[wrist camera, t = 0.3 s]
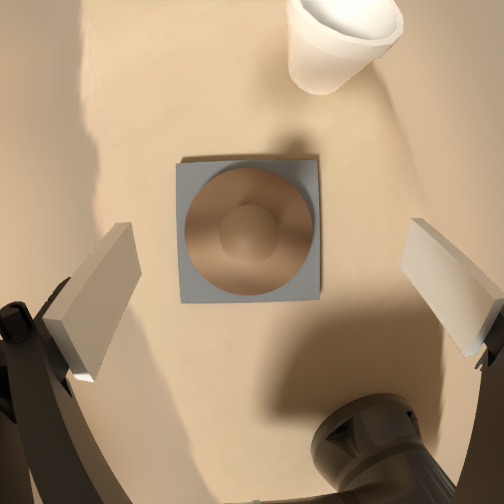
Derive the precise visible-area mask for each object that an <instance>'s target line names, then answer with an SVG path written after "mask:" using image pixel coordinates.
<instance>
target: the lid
mask: <svg viewBox="0 0 504 504" xmlns="http://www.w3.org/2000/svg"><path fill="white" fill-rule="evenodd" d="M312 231H313V230H312V221H311V216H310V212H309V210H308V207H307V205H306V203H305V201H304V199H303V197H302V196H301V194H300V193H299V192H298V191H297V189H296V188H295V187H294V186H293V185H292V184H291V183H289V182H288V181H287V180H286V179H284V178H282V177H281V176H279V175H277V174H275V173H273V172H270V171H267V170H264V169H258V168H238V169H234V170H230V171H227V172H224V173H222V174H220V175H218V176H216V177H214V178H213V179H211V180H210V181H209V182H207V183H206V184H205V185H204V186H203V187H202V188H201V189H200V190H199V192H198V193H197V194H196V196H195V197H194V199H193V200H192V202H191V205H190V207H189V209H188V212H187V215H186V220H185V229H184V236H185V244H186V248H187V251H188V254H189V257H190V259H191V261H192V263H193V265H194V266H195V268H196V269H197V270H198V272H199V273H200V274H201V275H202V276H203V277H204V278H205V279H206V280H207V281H208V282H210V283H211V284H212V285H214V286H216V287H217V288H219V289H221V290H223V291H226V292H229V293H232V294H237V295H247V296H252V295H260V294H264V293H268V292H271V291H273V290H276V289H278V288H279V287H281V286H283V285H284V284H286V283H287V282H289V281H290V280H291V279H292V278H293V277H294V276H295V275H296V274H297V273H298V271H299V270H300V269H301V267H302V266H303V264H304V263H305V261H306V258H307V256H308V254H309V251H310V247H311V242H312Z"/></svg>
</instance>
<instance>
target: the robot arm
mask: <svg viewBox="0 0 504 504" xmlns="http://www.w3.org/2000/svg"><path fill="white" fill-rule="evenodd" d="M399 267H400V269H401V270H402V271H403V272H404V274H405V275H406V276H407V277H408V279H409V280H410V281H411V283H412V284H413V285H414V287H415V288H416V289H417V290H418V292H419V293H420V294H421V296H422V297H423V299H424V300H425V301H426V303H427V304H428V305H429V307H430V308H431V310H432V311H433V312H434V314H435V315H436V317H437V318H438V319H439V321H440V322H441V324H442V325H443V327H444V328H445V330H446V331H447V332H448V334H449V335H450V337H451V338H452V340H453V341H454V343H455V345H456V346H457V348H458V349H459V351H460V352H461V354H462V355H463V357H468V356H471V355H474V354H477V352H478V351H479V349H480V347H481V346H482V344H483V342H484V343H485V344H486V346H487V349H486V350H485V352H484V353H483V355H482V357H481V358H480V360H479V361H478V363H477V364H476V367H475V369H477V368H478V367H479V365H481V364H483V365H482V368H481V369H480V371H482V375H481V384H480V391H479V399H478V404H477V411H476V416H475V421H474V426H473V431H472V435H471V439H470V443H469V447H468V451H467V455H466V458H465V462H464V466H463V469H462V472H461V475H460V478H459V481H458V484H457V486H455V485H454V484H453V482H452V481H451V480H450V479H449V477H448V476H447V475H446V474H445V472H444V471H443V470H442V468H441V467H440V466H439V465H438V463H437V462H436V461H435V460H434V458H433V457H432V456H431V454H430V453H429V452H428V451H427V449H426V448H425V447H424V445H423V441H422V437H421V433H420V428H419V424H418V420H417V417H416V414H415V412H414V411H413V409H412V408H411V407H410V406H409V405H408V403H407V402H406V401H405V400H403V399H402V398H400V397H398V396H395V395H391V394H377V395H371V396H367V397H364V398H361V399H358V400H356V401H353V402H351V403H349V404H347V405H346V406H344V407H342V408H341V409H339V410H338V411H336V412H335V413H334V414H332V415H331V416H330V417H329V418H328V419H327V420H326V421H325V422H324V423H323V424H322V425H321V426H320V428H319V429H318V430H317V432H316V434H315V436H314V438H313V440H312V444H311V454H312V458H313V461H314V465H315V467H316V469H317V470H318V472H319V473H320V474H321V475H322V476H323V477H324V478H325V479H326V480H327V481H328V483H329V484H330V485H331V486H332V487H333V488H334V489H335V490H336V491H337V492H338V493H332V494H327V495H321V496H314V497H307V498H299V499H290V500H279V501H264V502H260V501H259V500H254V501H252V502H248V503H224V504H504V293H503V292H502V291H501V290H500V289H499V288H498V287H497V286H496V285H495V284H494V283H493V282H492V281H491V280H490V279H489V278H488V277H487V276H486V275H485V274H484V273H483V272H482V271H481V270H480V269H479V268H478V267H477V266H476V265H475V264H474V263H473V262H472V261H471V260H469V258H468V257H466V256H465V255H464V254H463V253H462V252H461V251H460V250H459V249H458V248H457V247H455V246H454V245H453V244H452V243H451V242H450V241H449V240H447V239H446V238H445V237H444V236H443V235H442V234H440V233H439V232H438V231H437V230H436V229H435V228H433V227H432V226H431V225H430V224H428V223H427V222H426V221H425V220H424V219H421V218H410V223H409V227H408V232H407V236H406V241H405V245H404V249H403V253H402V257H401V261H400V265H399ZM141 274H142V273H141V269H140V265H139V260H138V255H137V251H136V246H135V241H134V236H133V230H132V225H131V222H126V223H116V224H115V225H114V226H113V227H112V228H111V229H110V231H109V232H108V233H107V234H106V235H105V236H104V238H103V239H102V240H101V241H100V242H99V243H98V245H97V246H96V247H95V248H94V249H93V251H92V252H91V253H90V254H89V256H88V257H87V258H86V259H85V261H84V262H83V263H82V264H81V265H80V267H79V268H78V270H77V271H76V272H75V273H74V274H73V276H72V277H68V278H67V279H65V280H64V281H63V282H62V283H60V284H59V285H58V286H57V288H56V289H55V290H54V292H53V294H51V296H50V297H49V298H48V301H46V302H45V304H44V305H43V306H42V308H41V310H40V311H39V312H38V314H37V315H36V316H35V318H34V319H32V317H31V315H30V313H29V311H28V309H27V307H26V305H25V303H23V302H12V303H9V304H7V305H6V306H4V307H3V308H2V309H1V310H0V335H1V336H2V338H3V340H0V504H34V499H33V493H32V488H31V482H30V474H29V468H30V471H31V474H32V476H33V479H34V482H35V485H36V487H37V490H38V492H39V495H40V497H41V499H42V502H43V504H133V503H132V502H131V500H130V499H129V497H128V496H127V494H126V493H125V491H124V490H123V488H122V487H121V485H120V484H119V482H118V480H117V479H116V477H115V476H114V474H113V472H112V471H111V469H110V467H109V465H108V464H107V462H106V460H105V458H104V456H103V455H102V453H101V452H100V449H99V447H98V445H97V443H96V441H95V439H94V437H93V435H92V433H91V431H90V429H89V427H88V425H87V423H86V421H85V419H84V416H83V414H82V412H81V410H80V407H79V405H78V403H77V400H76V398H75V395H74V393H73V390H72V388H71V385H70V382H69V381H68V379H67V378H66V374H67V372H68V370H69V368H70V370H71V371H72V373H73V375H74V376H75V377H76V379H79V380H85V381H91V382H95V379H96V377H97V374H98V371H99V369H100V366H101V364H102V361H103V359H104V356H105V354H106V351H107V349H108V347H109V344H110V342H111V340H112V337H113V334H114V333H115V330H116V328H117V326H118V323H119V321H120V319H121V316H122V315H123V312H124V310H125V308H126V306H127V304H128V301H129V299H130V297H131V295H132V293H133V291H134V289H135V287H136V285H137V283H138V280H139V278H140V276H141Z"/></svg>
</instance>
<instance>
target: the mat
mask: <svg viewBox="0 0 504 504" xmlns="http://www.w3.org/2000/svg"><path fill="white" fill-rule="evenodd" d="M238 168H258V169H264V170H267V171H270V172H273V173H275V174H277V175H279V176H281V177H282V178H284V179H286V180H287V181H288V182H289V183H291V184H292V185H293V186H294V187H295V188H296V189H297V191H298V192H299V193H300V194H301V196H302V197H303V199H304V201H305V203H306V205H307V207H308V210H309V212H310V216H311V221H312V230H313V231H312V242H311V247H310V251H309V254H308V256H307V258H306V261H305V263H304V264H303V266H302V267H301V269H300V270H299V271H298V273H297V274H296V275H295V276H294V277H293V278H292V279H291V280H290V281H289V282H287V283H286V284H284V285H283V286H281V287H279V288H278V289H276V290H273V291H271V292H268V293H264V294H260V295H252V296H247V295H237V294H232V293H229V292H226V291H223V290H221V289H219V288H217V287H216V286H214V285H212V284H211V283H210V282H208V281H207V280H206V279H205V278H204V277H203V276H202V275H201V274H200V273H199V272H198V270H197V269H196V268H195V266H194V265H193V263H192V261H191V259H190V257H189V254H188V251H187V248H186V244H185V236H184V229H185V220H186V215H187V212H188V209H189V207H190V205H191V202H192V200H193V199H194V197H195V196H196V194H197V193H198V192H199V190H200V189H201V188H202V187H203V186H204V185H205V184H206V183H207V182H209V181H210V180H211V179H213V178H214V177H216V176H218V175H220V174H222V173H224V172H227V171H230V170H234V169H238ZM176 218H177V247H178V267H179V283H180V297H181V303H252V302H280V301H302V300H319V296H320V220H319V188H318V167H317V160H232V161H209V162H193V163H179V164H176Z"/></svg>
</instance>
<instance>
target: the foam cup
mask: <svg viewBox="0 0 504 504" xmlns="http://www.w3.org/2000/svg"><path fill="white" fill-rule="evenodd" d="M285 11H286V14H287V17H288V70H289V74H290V77H291V80H292V81H293V82H294V83H295V84H296V85H297V86H298V87H299V88H300V89H302V90H304V91H306V92H308V93H310V94H315V95H327V94H330V93H334V92H335V91H336V90H338V89H339V88H340V87H341V86H342V85H344V84H345V83H346V82H347V81H348V80H350V79H351V78H352V77H353V76H354V75H356V74H357V73H358V72H359V71H361V70H362V69H363V68H364V67H366V66H367V65H368V64H369V63H371V62H372V61H373V60H374V59H376V58H381V56H383V55H384V54H385V53H386V51H388V50H389V49H390V48H391V47H392V46H393V44H394V43H395V42H396V41H397V40H398V39H399V38H400V36H401V35H402V34H403V16H402V14H401V12H400V11H399V9H398V7H397V5H396V4H395V2H394V0H287V1H286V6H285Z"/></svg>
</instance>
